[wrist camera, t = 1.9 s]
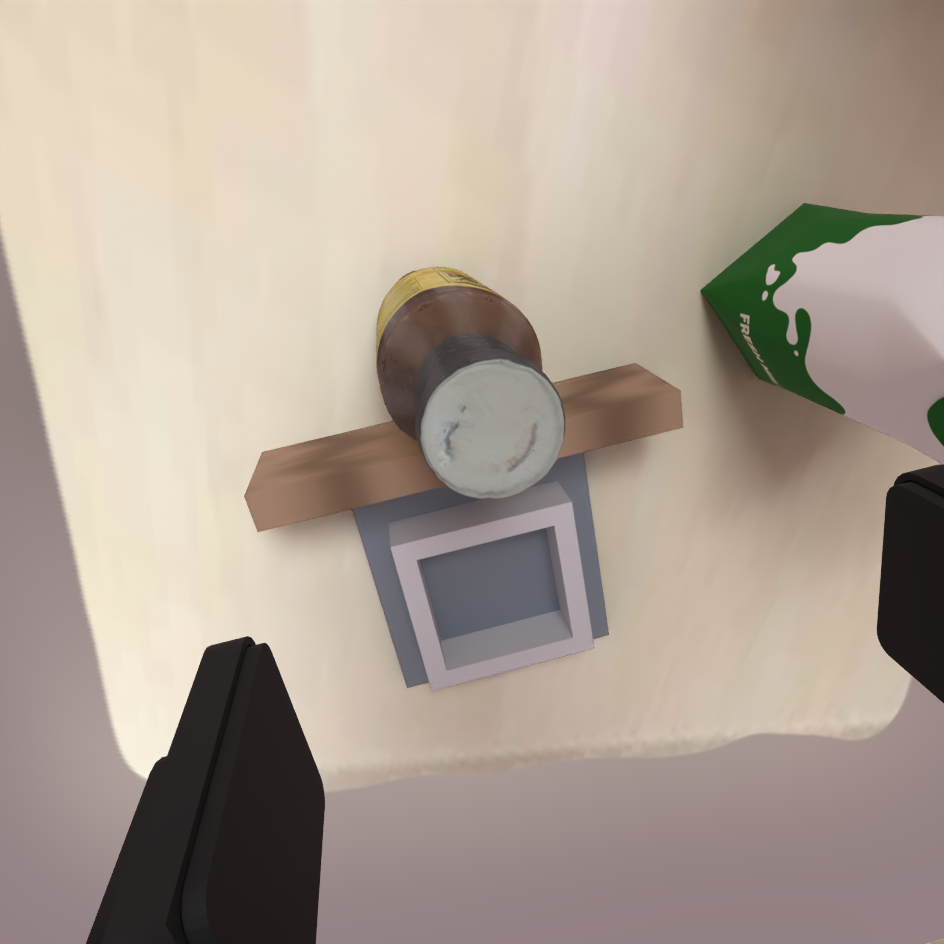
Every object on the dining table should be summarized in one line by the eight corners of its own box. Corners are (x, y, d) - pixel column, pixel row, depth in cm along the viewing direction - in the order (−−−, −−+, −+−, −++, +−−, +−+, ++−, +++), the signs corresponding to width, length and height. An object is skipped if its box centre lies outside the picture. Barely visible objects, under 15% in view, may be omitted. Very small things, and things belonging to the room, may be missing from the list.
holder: (578, 441, 40) (598, 465, 36) (604, 627, 45) (624, 663, 42) (350, 497, 39) (349, 527, 35) (406, 679, 45) (410, 720, 41)
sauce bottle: (510, 340, 37) (652, 478, 19) (415, 399, 37) (463, 589, 19) (451, 235, 34) (548, 276, 16) (350, 300, 35) (333, 411, 17)
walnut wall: (635, 363, 38) (680, 390, 33) (638, 395, 39) (683, 427, 34) (262, 452, 37) (244, 496, 32) (273, 483, 38) (257, 531, 32)
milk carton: (678, 288, 37) (982, 374, 19) (812, 175, 36) (1278, 150, 18) (752, 399, 40) (1071, 564, 22) (877, 300, 39) (1325, 388, 21)
